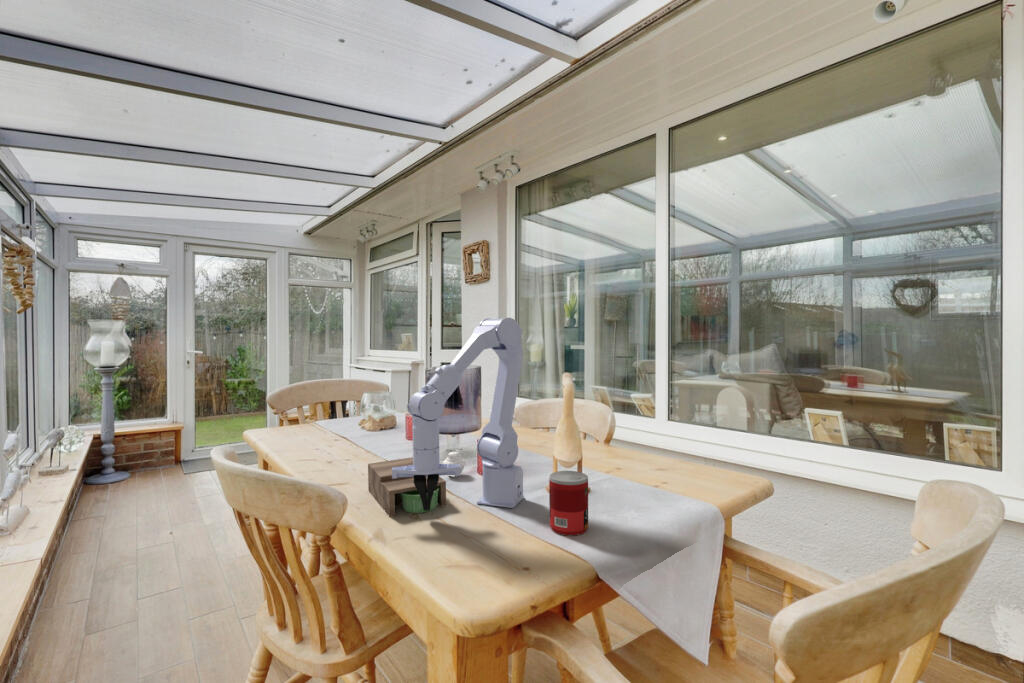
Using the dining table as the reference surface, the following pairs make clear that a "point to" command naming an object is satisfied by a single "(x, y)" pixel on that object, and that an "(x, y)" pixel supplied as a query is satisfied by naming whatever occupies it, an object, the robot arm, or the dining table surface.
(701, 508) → the dining table surface
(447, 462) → the white sugar bowl
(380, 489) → the walnut shelf
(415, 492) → the ramekin
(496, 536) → the dining table surface
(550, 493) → the canned food
